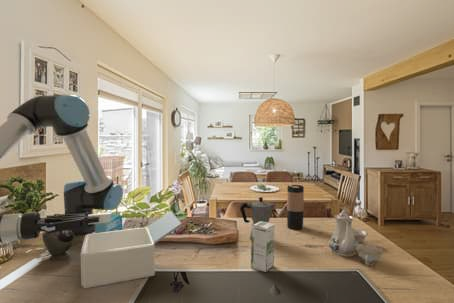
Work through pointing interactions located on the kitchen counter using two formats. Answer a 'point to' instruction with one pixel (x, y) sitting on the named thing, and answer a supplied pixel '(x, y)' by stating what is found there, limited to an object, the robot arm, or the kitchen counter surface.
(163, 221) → the carton flap
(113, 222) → the data package
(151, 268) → the carton
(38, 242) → the kitchen counter surface
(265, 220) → the coffeepot
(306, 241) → the kitchen counter surface
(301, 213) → the travel mug
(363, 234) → the chinaware
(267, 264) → the syrup box
